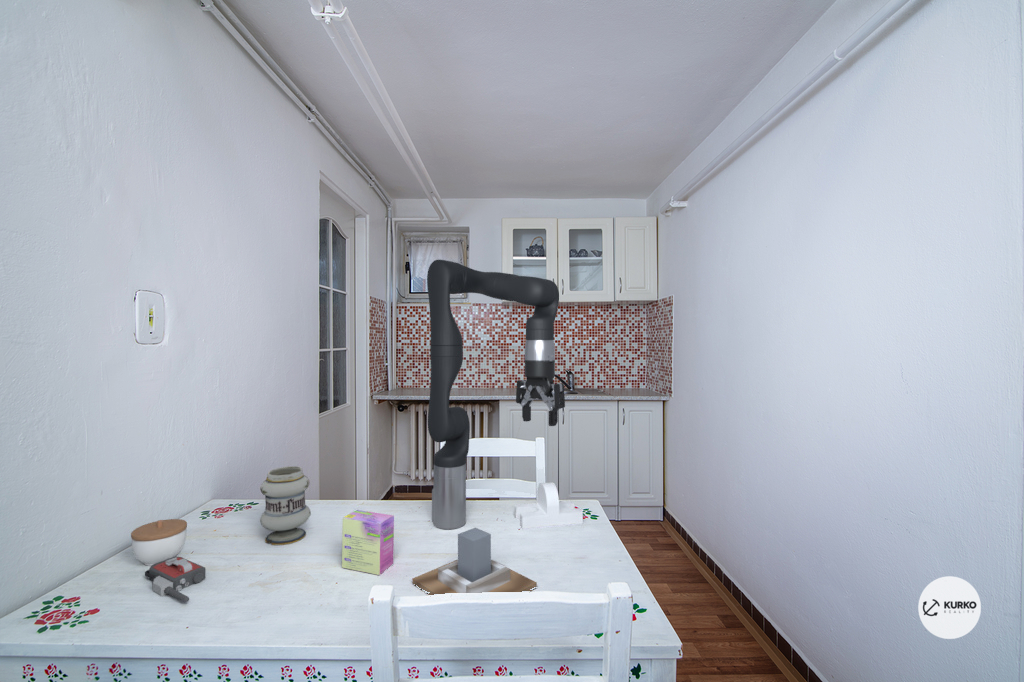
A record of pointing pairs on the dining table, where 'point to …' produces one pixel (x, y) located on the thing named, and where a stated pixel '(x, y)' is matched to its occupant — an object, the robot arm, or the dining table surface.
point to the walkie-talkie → (175, 576)
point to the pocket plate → (451, 582)
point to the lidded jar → (158, 540)
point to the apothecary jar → (285, 505)
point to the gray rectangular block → (474, 554)
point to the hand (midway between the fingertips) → (539, 423)
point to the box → (367, 541)
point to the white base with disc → (548, 510)
